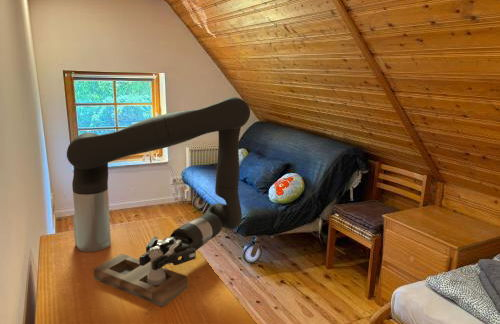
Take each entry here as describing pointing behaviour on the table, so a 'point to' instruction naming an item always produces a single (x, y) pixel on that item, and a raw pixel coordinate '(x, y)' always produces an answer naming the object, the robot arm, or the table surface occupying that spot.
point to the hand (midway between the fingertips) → (147, 264)
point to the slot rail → (140, 279)
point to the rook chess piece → (159, 275)
